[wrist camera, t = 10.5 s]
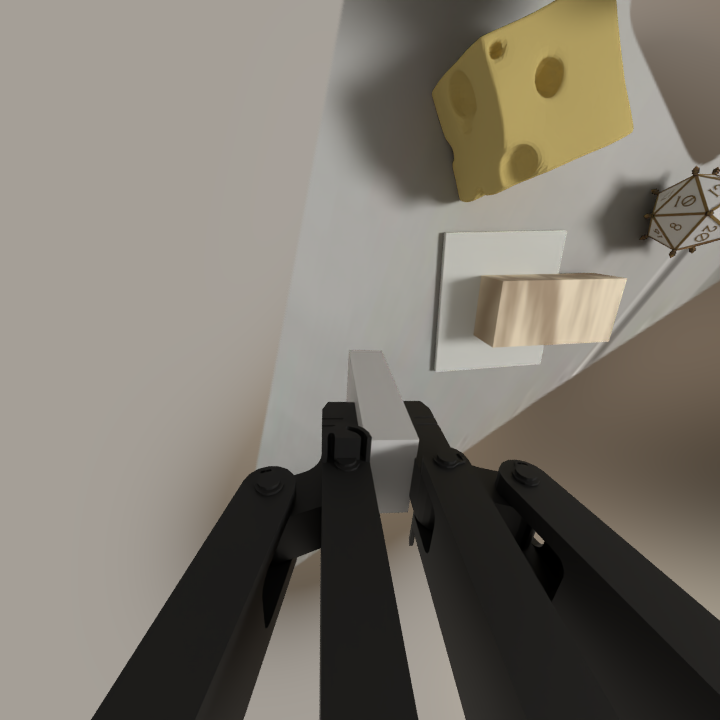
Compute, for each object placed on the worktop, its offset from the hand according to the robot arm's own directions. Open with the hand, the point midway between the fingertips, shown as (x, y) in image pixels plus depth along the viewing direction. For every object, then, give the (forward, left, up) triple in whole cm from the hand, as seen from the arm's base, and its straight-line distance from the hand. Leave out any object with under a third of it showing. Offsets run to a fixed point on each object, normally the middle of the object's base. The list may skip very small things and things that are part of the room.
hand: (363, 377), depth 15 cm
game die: (-20, +33, -23) cm, 45 cm away
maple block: (-4, +16, -20) cm, 26 cm away
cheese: (-20, +10, -23) cm, 32 cm away
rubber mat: (-5, +19, -22) cm, 30 cm away
